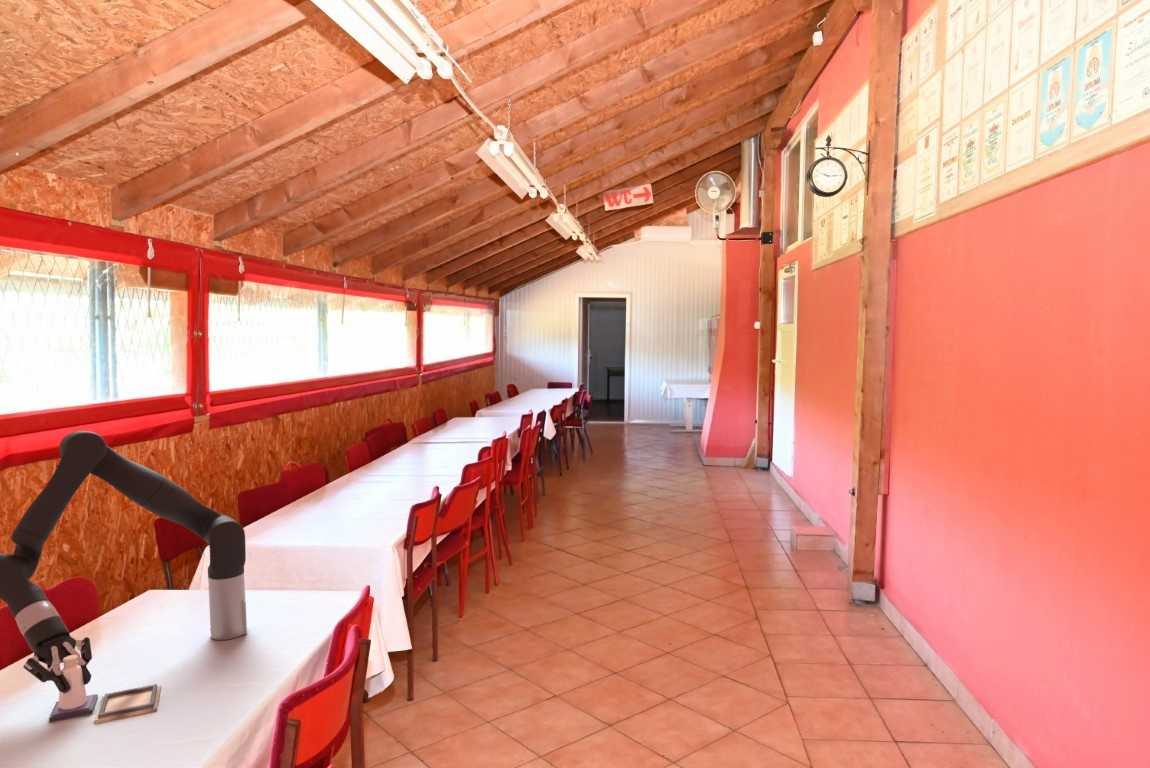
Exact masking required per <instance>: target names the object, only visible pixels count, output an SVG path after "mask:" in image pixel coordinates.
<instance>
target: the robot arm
mask: <svg viewBox="0 0 1150 768" xmlns="http://www.w3.org/2000/svg"><path fill="white" fill-rule="evenodd" d="M58 451H59V456H60V460H59V463H58V465H57V467H56V469H55V471H54V473H53V474H52V476H51V478H50V479H49V481H48V482H47V484H46V485H45V487H43V489H42V490H41V491H40V492H39V494H38V495H37V496H36V498H35V499H34V500H33V502H31V504H30V506H28V507H27V509H26V511H25V512H24V514H23V515H22V517H21V519H20V520H19V522H18V524H17V525H16V527H15V529H14V530H13V531H12V533H11V536H10V540H11V542H13V543H14V544H15V546H14V551H13V553H12V554H10V553H0V599H1V600H2V601H3V602H4V603H5V604H6V605H7V607H8V610H9V611H10V612H11V614H12V617H13V618H14V620H15V621H16V626H17V627H18V630H19V631H20V633H21V635H22V636H23V638H24V639H25V642H26V643H27V644H28V647H29V648H30V650H31V652H32V653H33V656H32V657H29V658H28V659H27V660H26V662H25V663H24V665H23V669H24V670H26V671H27V672H28V673H30V674H31V675H32V676H33V677H35V678H36V679H37V680H39V681H40V682H41V683H46V682H49V681H51V682H53V683H54V685H55V687H56V689H57V690H58V691H59V692H63V693H64V694H65V693H67V692H68V691H69V690H70V688H71V687H70V685H69V683H68V682H67V680H66V678H65V677H64V675H63V674H62V675H61V670H62V669H61V664H63V663H64V662H63V659H64V658H65V657H67V656H70V655H77V656H78V659H77V660H78V665H80V666H81V669H82V674H83V680H84V685H88V684H90V681H91V678H92V674H91V672H90V670H89V668H88V667H87V666H88V665H89V663H90V662H91V661H92V659H93V654H92V646H91V641H90V640H91V639H90V637H87V636H86V637H84V638H83V639H75V638H74V637H73V636H71V633H70V631H69V628H67V625H66V624H65V622H64V621H63V619H62V618H61V616H60V614H59V613H58V611H57V609H56V608H55V607H54V605H53V604H52V603H51V602H50V601H49V599H48V597H47V595H46V593H45V592H44V590H43V589H42V588H41V586H40V585H38V584H36V583H34V582H32V581H31V580H30V579H31V578H32V577H33V576H34V574H35V572H36V570H37V569H38V565H39V561H40V559H41V556H42V552H43V549H44V545H45V543H46V542H47V541H48V538H49V537H50V535H51V534H52V532H53V530H54V529H55V527H56V526H57V524H58V522H59V520H60V518H61V517H62V515H63V513H64V512H65V510H66V508H67V506H68V505H69V503H70V501H71V499H72V498H73V497H74V496H75V494H76V493H77V491H78V490H79V488H80V487H81V486H82V484H83V483H84V481H85V480H86V479H87V478H88V476H89V475H92V476H95V477H97V478H99V479H101V480H102V481H104V482H106V483H107V484H109V485H110V486H112V487H113V488H114V489H115V490H117V491H118V492H119V493H120V494H122V495H123V496H125V497H126V498H128V499H129V500H131V501H132V502H134V503H136V505H138V506H140V507H142V508H144V509H146V510H147V511H148V512H150V513H153V514H154V515H155V516H159V517H161V518H162V519H165V520H168V521H170V522H173V523H176V524H179V525H181V526H183V527H184V528H187V529H188V530H190V532H192V533H194V534H195V535H196V536H198V537H200V539H202V540H203V541H204V542H205V543H207V545H208V546H209V565H208V566H207V582H208V601H209V602H208V603H209V604H208V605H209V606H208V607H209V623H210V624H209V625H210V630H209V631H210V638H211V639H213V640H217V641H223V640H224V641H225V640H231V639H236V638H238V637H241V636H244V635H247V634H248V627H247V626H248V624H247V623H248V621H247V606H246V604H247V603H246V602H247V601H246V586H245V584H246V583H245V564H246V560H247V559H246V555H247V554H246V552H247V549H246V533H245V529H244V527H243V525H242V524H241V523H240V522H238V521H237V520H236V519H234V518H232V517H230V516H228V515H226V514H223V513H222V512H220V511H216V510H214V509H212V508H211V507H209V506H206V504H203V503H201V502H200V501H199V500H197V499H196V498H195V497H194V496H193V495H192V494H190V493H189V492H188V491H187V490H186V489H184V488H183V487H181V486H180V485H178V484H177V483H176V482H174V481H172V480H171V479H169V478H168V477H166V476H164V475H162V474H161V473H159V472H157V471H155V470H153V469H151V468H149V467H147V466H145V465H142V464H140V463H137V462H135V461H132V460H130V459H128V458H126V457H124V456H122V455H121V454H119V453H118V452H117V451H115V450H114V449H113V448H111V447H109V446H108V445H107V443H106V441H105V439H104V438H103V437H102V436H101V435H100V434H98V433H96V432H93V431H89V430H77V431H74V432H70V433H69V434H67V435H65V436H64V437H62V439H61V441H60V443H59V449H58ZM76 647H77V650H78V651H79V652H80V653H79V652H78V651H77V650H76ZM40 662H41V663H43V664H45V665H46V667H45V666H43V665H42V664H41V663H40Z"/></svg>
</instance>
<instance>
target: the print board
mask: <svg viewBox="0 0 1150 768" xmlns="http://www.w3.org/2000/svg"><path fill="white" fill-rule="evenodd" d="M161 691H162V685H158V684H157V683H156V684H150V685H145V686H141V687H135V688H129V689H124V690H119V691H113V692H108V693H105V694H104V695H103V696H101V699H100V701H99V705H98V706H97V710H96V714H95V717H94V719H93V723H94V724H98V723H102V722H108V721H112V720H119V719H123V718H127V717H133V716H137V715H143V714H147V713H152V712H156V711H158V708H159V702H160V695H161Z"/></svg>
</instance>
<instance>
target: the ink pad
mask: <svg viewBox="0 0 1150 768" xmlns="http://www.w3.org/2000/svg"><path fill="white" fill-rule="evenodd" d="M98 698H99V694H98V693H95V694H89V695H87V701H86V702H85V704H84V705H82V706H80V707H77V708H74V709H68V710H62V709H61V708H59V707H58V706H59V700H58V701H56V702H55V704H54V706H53V708H52V710H51V712H50V714H49V717H48V722H49V723H53V722H59V721H64V720H68V719H69V720H70V719H73V718H78V717H79V718H80V717H85V716H89V715H93V713H94V711H95V708H96V705H97V702H98Z"/></svg>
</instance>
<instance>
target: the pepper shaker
mask: <svg viewBox="0 0 1150 768" xmlns="http://www.w3.org/2000/svg"><path fill="white" fill-rule="evenodd" d="M77 659H78V656H77V655H70V656H67V657H65V658H64V659H63V663H62V664H63V668H62V669H61V675H62V674H63V675H64V677H65V678H66V680H67V682H68V683H69V685H70V687H71V688H70V690H69V691H68V692H67V693H65V694H64V693H63V692H60V691H59V694H58V701H59V706H58V707H59V708H61V709H62V710H68V709H74V708H77V707H80V706H82V705H84V704H85V702H86V701H87V696H88V694H87V691H86V686H85V685H84V680H83V674H82V669H81V666H80V665H78V660H77Z"/></svg>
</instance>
